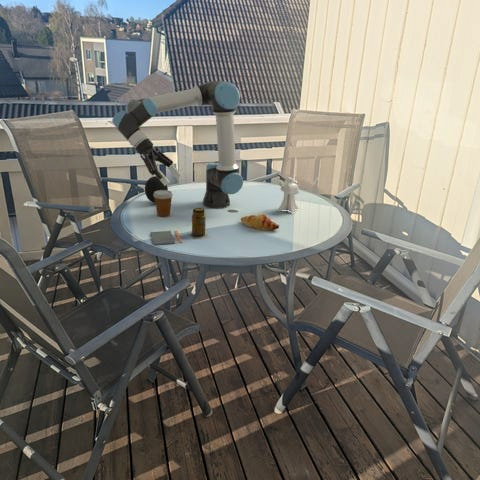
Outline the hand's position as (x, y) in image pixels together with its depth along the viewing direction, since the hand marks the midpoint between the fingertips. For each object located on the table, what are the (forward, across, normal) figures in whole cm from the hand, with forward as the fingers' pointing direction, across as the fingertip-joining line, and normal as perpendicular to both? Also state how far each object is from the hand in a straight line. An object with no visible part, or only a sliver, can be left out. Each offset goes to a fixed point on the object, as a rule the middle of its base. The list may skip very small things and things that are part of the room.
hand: (173, 180), depth 183 cm
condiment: (+26, +2, -7) cm, 27 cm away
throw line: (+20, +8, -13) cm, 25 cm away
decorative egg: (-1, -34, -34) cm, 48 cm away
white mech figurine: (+49, -48, +17) cm, 71 cm away
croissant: (+42, -18, +10) cm, 47 cm away
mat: (+16, +12, -17) cm, 26 cm away
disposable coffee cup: (+8, -17, -26) cm, 32 cm away
